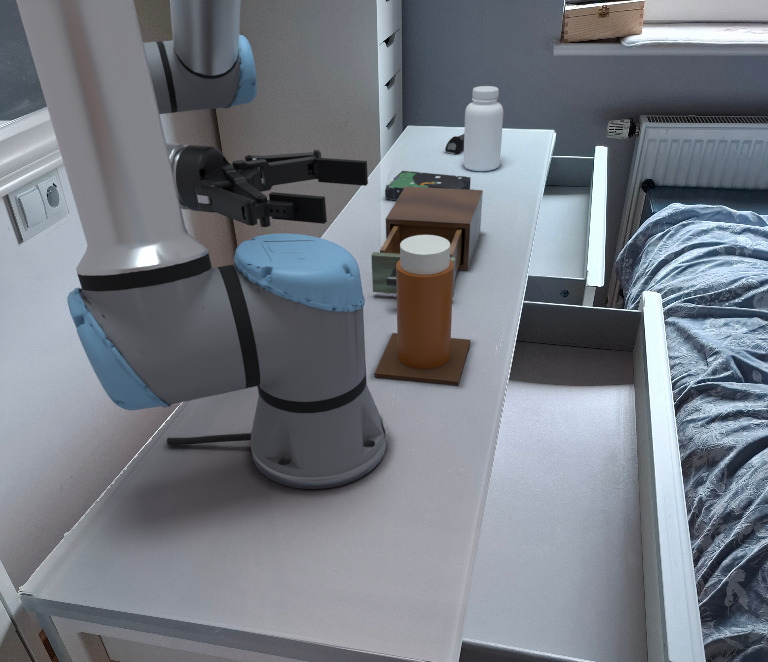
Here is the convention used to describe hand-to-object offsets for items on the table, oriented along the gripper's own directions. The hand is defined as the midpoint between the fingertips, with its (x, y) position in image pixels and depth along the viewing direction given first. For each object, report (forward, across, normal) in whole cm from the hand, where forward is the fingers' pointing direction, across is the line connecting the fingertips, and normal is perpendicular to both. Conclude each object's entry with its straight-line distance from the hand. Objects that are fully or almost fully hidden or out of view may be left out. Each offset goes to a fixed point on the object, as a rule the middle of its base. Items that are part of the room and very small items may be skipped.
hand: (347, 190), depth 84 cm
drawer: (+2, -22, -20) cm, 30 cm away
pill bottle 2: (-2, -83, -20) cm, 85 cm away
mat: (+10, 0, -21) cm, 23 cm away
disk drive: (-8, -62, -21) cm, 66 cm away
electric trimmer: (-9, -97, -20) cm, 100 cm away
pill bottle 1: (+10, 0, -20) cm, 23 cm away
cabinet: (+1, -36, -21) cm, 42 cm away
